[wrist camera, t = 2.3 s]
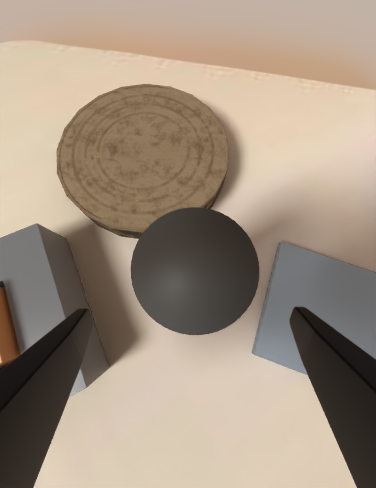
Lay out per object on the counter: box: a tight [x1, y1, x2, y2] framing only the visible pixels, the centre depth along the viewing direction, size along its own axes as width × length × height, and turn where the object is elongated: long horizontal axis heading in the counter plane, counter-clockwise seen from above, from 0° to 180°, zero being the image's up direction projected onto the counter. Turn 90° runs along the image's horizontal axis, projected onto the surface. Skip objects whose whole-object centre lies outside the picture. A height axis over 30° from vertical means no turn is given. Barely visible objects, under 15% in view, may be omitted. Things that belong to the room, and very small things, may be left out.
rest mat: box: [252, 241, 376, 375], centre depth 18 cm, size 10×10×1 cm
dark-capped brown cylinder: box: [131, 207, 259, 335], centre depth 12 cm, size 4×4×13 cm
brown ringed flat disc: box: [57, 84, 229, 239], centre depth 21 cm, size 16×16×3 cm
